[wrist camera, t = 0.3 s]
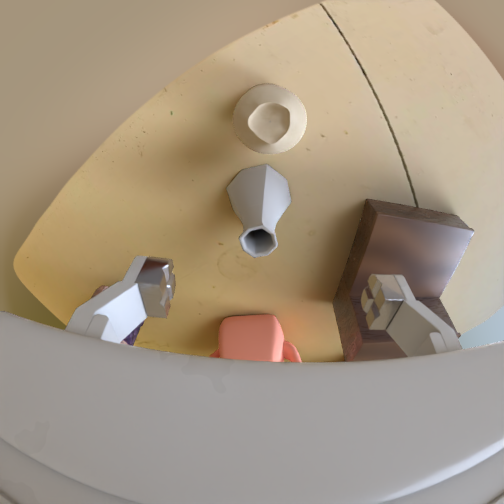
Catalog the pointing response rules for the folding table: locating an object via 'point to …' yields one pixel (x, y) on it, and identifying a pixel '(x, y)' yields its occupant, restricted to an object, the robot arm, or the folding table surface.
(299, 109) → the candle
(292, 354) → the teapot
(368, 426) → the robot arm
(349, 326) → the wooden step stool
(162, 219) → the folding table surface
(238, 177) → the flask
